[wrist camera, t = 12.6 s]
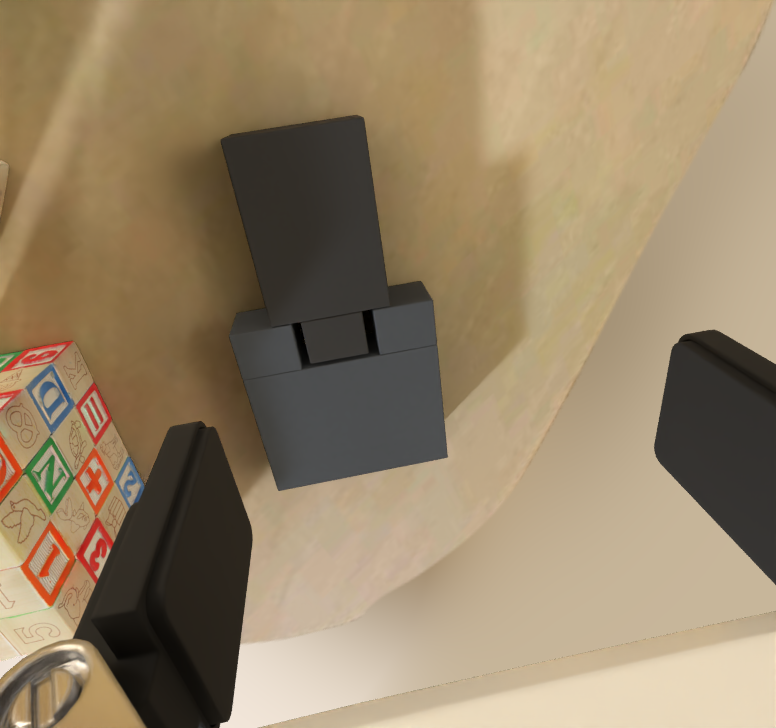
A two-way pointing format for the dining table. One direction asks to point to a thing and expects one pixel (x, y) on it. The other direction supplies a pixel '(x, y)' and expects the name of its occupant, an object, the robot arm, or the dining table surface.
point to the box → (3, 182)
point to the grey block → (346, 394)
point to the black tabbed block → (312, 228)
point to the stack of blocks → (55, 494)
